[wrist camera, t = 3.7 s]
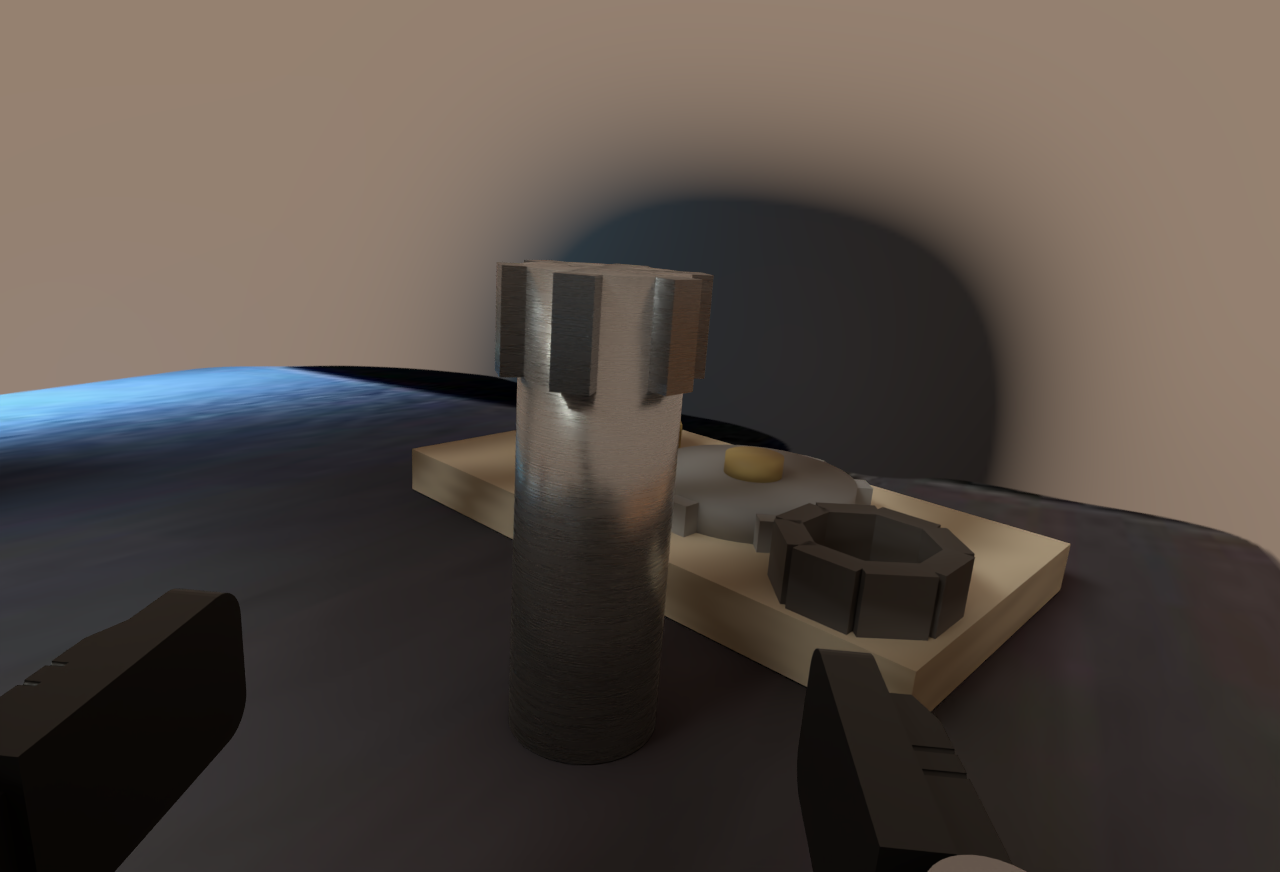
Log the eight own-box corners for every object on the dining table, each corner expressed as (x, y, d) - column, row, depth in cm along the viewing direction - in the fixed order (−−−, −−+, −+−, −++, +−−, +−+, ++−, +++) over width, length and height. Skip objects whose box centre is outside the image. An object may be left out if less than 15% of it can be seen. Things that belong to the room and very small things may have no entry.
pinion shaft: (455, 708, 22) (458, 258, 18) (584, 649, 25) (605, 261, 22) (579, 806, 18) (609, 280, 15) (708, 722, 22) (754, 279, 19)
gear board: (412, 488, 38) (411, 403, 37) (618, 443, 48) (622, 375, 47) (904, 735, 22) (929, 596, 21) (1060, 590, 32) (1082, 491, 31)
